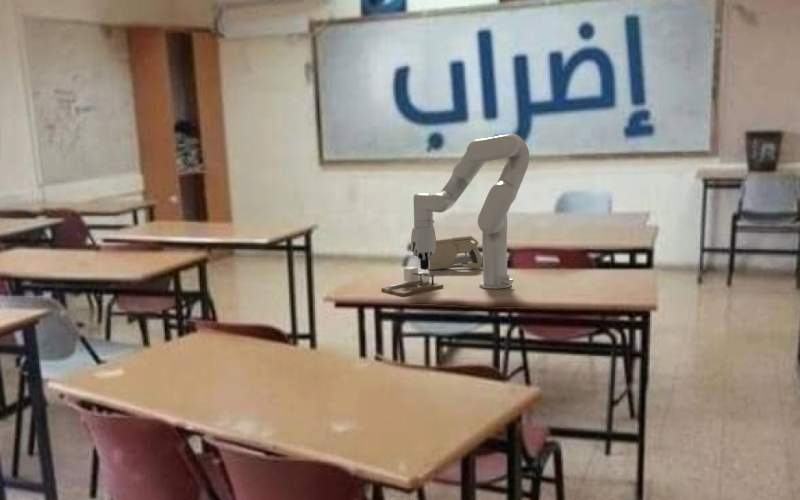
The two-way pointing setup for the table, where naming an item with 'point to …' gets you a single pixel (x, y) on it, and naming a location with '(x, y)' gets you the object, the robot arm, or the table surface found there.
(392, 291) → the hole board
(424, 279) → the beam
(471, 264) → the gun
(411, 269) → the sliding leg
